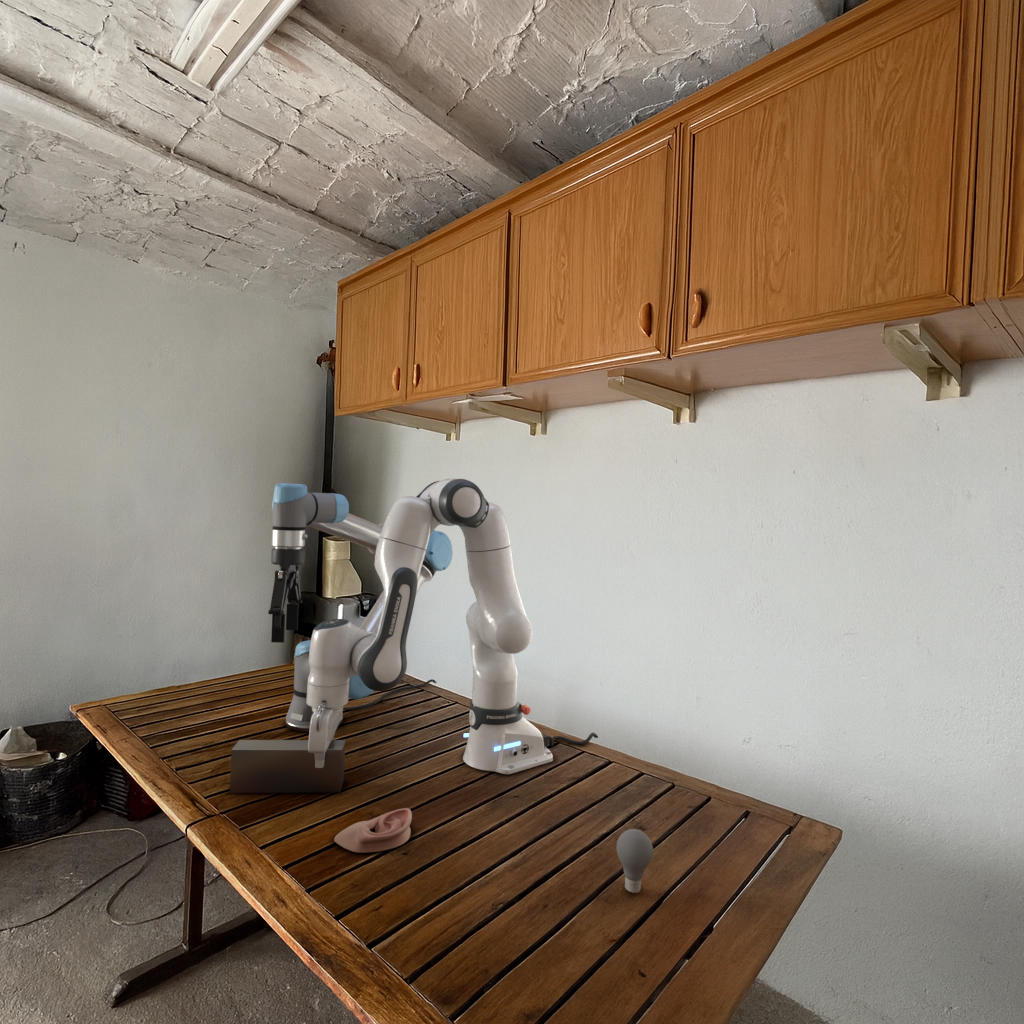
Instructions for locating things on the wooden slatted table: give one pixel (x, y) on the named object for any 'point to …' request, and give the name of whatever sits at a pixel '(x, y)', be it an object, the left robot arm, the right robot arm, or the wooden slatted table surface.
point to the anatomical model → (377, 832)
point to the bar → (285, 767)
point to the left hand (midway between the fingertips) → (285, 635)
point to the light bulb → (634, 857)
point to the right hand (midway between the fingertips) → (324, 757)
